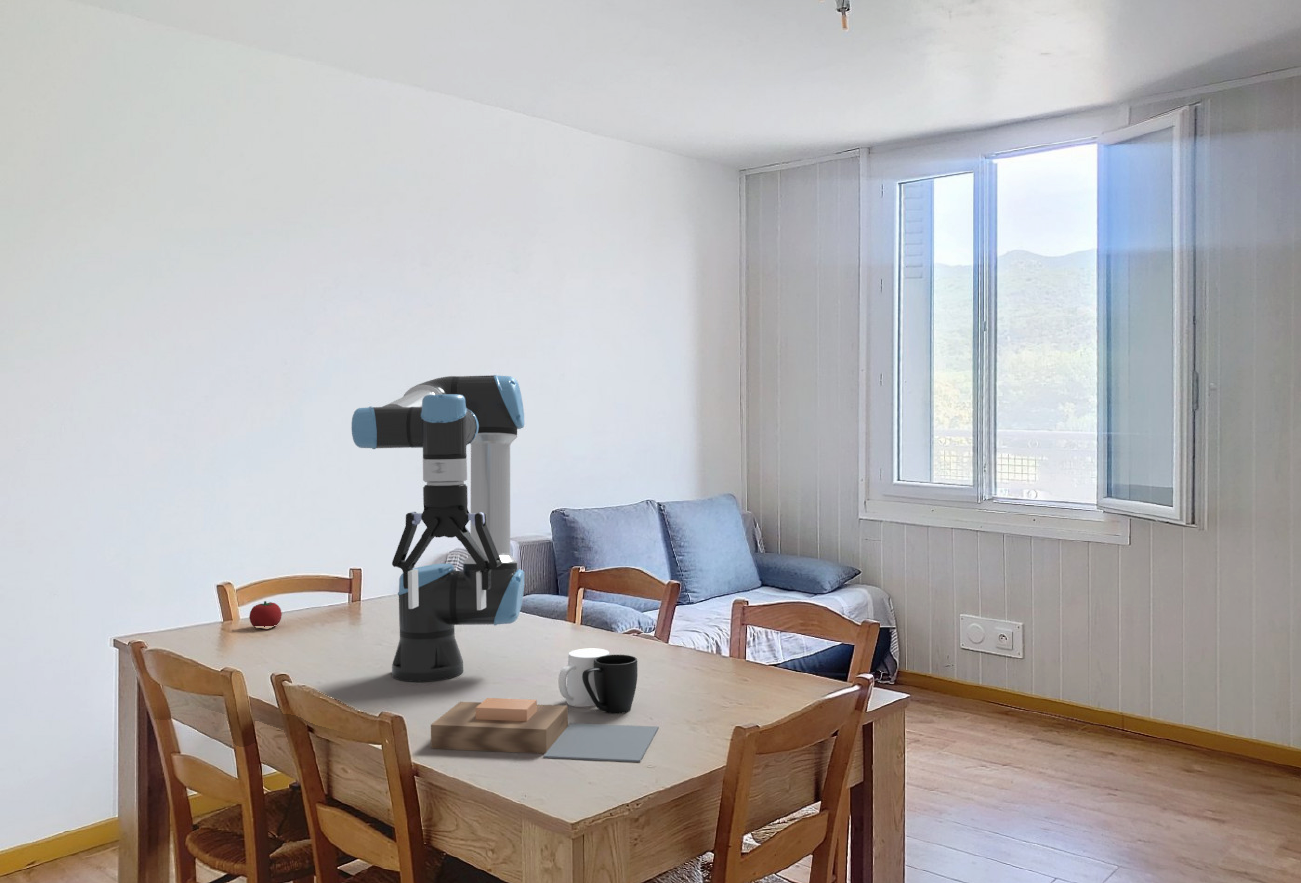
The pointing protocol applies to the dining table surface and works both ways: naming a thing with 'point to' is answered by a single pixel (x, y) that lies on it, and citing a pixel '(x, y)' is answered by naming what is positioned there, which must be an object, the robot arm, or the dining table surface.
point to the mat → (602, 742)
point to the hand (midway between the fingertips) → (447, 608)
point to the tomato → (265, 614)
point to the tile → (506, 709)
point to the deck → (498, 730)
